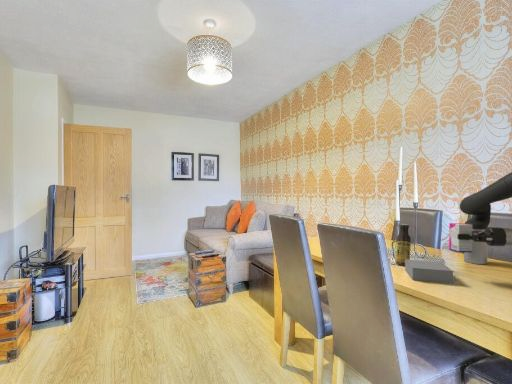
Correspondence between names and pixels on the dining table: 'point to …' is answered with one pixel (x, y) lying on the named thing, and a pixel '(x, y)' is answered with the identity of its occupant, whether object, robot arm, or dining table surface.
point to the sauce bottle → (403, 245)
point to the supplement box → (454, 242)
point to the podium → (428, 271)
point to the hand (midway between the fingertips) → (454, 235)
